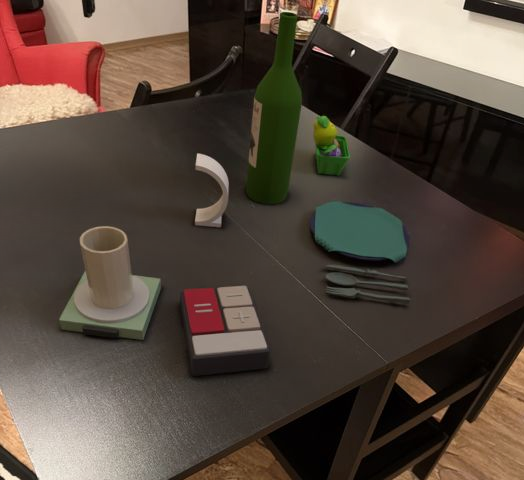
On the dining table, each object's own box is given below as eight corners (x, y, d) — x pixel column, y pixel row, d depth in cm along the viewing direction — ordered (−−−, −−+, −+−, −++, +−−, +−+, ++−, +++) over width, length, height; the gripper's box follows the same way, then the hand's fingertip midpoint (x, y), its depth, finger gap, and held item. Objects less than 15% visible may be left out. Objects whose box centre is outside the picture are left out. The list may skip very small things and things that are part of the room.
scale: (59, 333, 69) (56, 320, 68) (88, 278, 78) (85, 265, 76) (142, 343, 70) (140, 331, 68) (161, 288, 78) (160, 275, 77)
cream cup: (85, 305, 70) (72, 249, 63) (98, 279, 74) (88, 223, 67) (127, 311, 70) (119, 255, 63) (138, 284, 75) (132, 229, 67)
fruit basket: (345, 179, 111) (357, 130, 103) (307, 174, 111) (317, 125, 102) (340, 156, 119) (352, 109, 111) (305, 152, 118) (314, 104, 110)
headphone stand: (196, 212, 95) (197, 153, 86) (227, 215, 96) (230, 156, 87) (194, 225, 92) (195, 165, 83) (226, 227, 92) (230, 168, 84)
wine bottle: (240, 184, 104) (255, 5, 81) (279, 181, 107) (304, 7, 83) (252, 206, 99) (272, 20, 75) (292, 203, 101) (323, 23, 78)
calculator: (248, 282, 76) (272, 347, 66) (246, 303, 79) (268, 368, 69) (179, 286, 74) (192, 355, 63) (180, 308, 77) (192, 376, 66)
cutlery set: (401, 217, 102) (405, 208, 100) (419, 311, 82) (423, 301, 80) (309, 203, 102) (311, 193, 100) (303, 294, 81) (306, 283, 80)
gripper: (-29, -142, 61) (5, 10, 73) (83, -123, 62) (99, 25, 73) (-2, -141, 66) (26, 0, 78) (101, -124, 67) (113, 14, 78)
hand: (61, 12), depth 76 cm, fingers open, 8 cm apart
